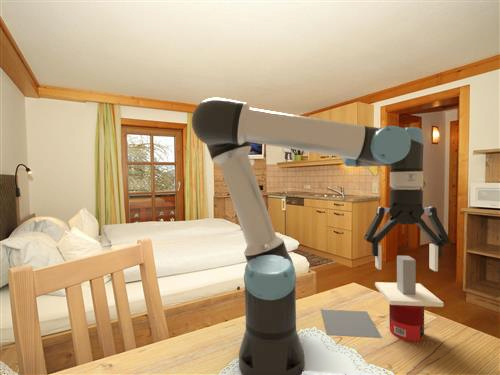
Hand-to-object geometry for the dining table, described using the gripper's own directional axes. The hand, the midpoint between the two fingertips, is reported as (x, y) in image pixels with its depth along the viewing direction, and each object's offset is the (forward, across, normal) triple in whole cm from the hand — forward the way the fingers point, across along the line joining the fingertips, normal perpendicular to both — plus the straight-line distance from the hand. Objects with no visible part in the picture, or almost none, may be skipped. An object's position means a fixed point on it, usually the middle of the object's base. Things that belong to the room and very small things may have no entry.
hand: (405, 268), depth 72 cm
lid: (+7, 0, 0) cm, 7 cm away
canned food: (+18, 0, 0) cm, 18 cm away
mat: (+18, -14, +4) cm, 23 cm away
